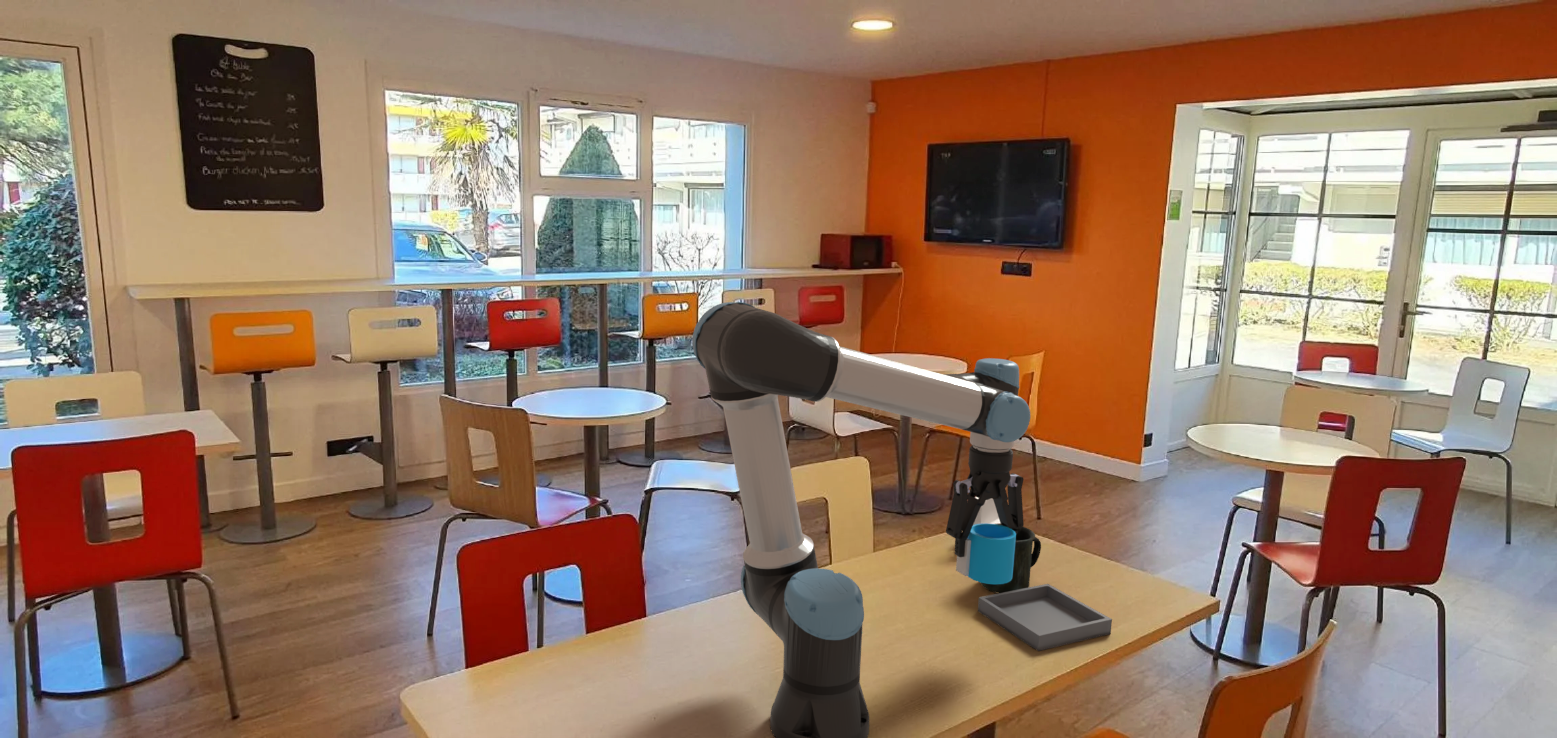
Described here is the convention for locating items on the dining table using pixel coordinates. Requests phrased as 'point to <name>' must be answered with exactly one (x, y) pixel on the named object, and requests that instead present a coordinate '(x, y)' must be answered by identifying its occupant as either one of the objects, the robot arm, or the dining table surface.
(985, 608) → the tray
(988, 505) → the base with upright slab
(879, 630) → the dining table surface
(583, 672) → the dining table surface
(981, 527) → the mug
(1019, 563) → the mug
